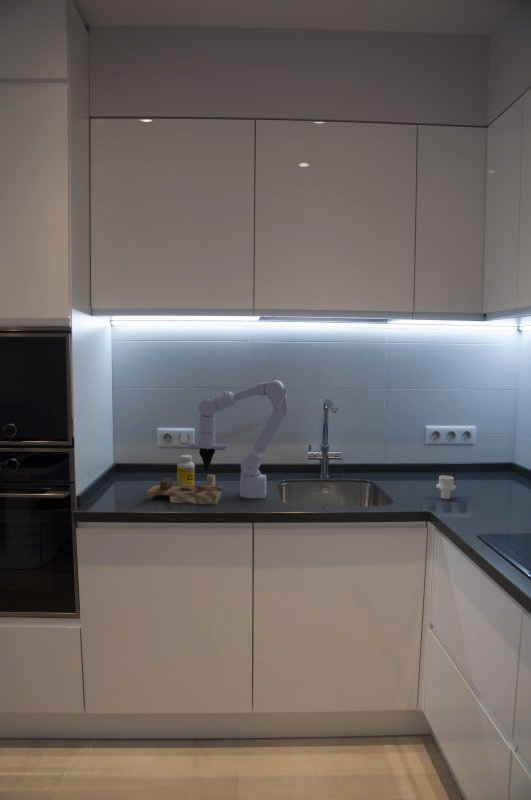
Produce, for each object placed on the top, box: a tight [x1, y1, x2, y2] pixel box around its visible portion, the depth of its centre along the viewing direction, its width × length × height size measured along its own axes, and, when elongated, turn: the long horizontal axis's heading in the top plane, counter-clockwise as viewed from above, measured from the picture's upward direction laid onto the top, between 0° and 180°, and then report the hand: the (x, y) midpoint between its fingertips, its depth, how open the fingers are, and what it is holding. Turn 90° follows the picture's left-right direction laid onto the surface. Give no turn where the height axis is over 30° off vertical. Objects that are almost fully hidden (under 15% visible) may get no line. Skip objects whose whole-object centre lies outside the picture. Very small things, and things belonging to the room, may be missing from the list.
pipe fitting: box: [435, 475, 457, 500], centre depth 204 cm, size 6×7×8 cm
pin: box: [206, 474, 216, 486], centre depth 203 cm, size 3×3×7 cm
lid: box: [146, 478, 198, 496], centre depth 193 cm, size 16×9×4 cm, turn 85°
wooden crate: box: [169, 484, 223, 505], centre depth 192 cm, size 16×11×4 cm
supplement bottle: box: [176, 454, 196, 486], centre depth 209 cm, size 7×7×13 cm
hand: (207, 469), depth 199 cm, fingers closed
